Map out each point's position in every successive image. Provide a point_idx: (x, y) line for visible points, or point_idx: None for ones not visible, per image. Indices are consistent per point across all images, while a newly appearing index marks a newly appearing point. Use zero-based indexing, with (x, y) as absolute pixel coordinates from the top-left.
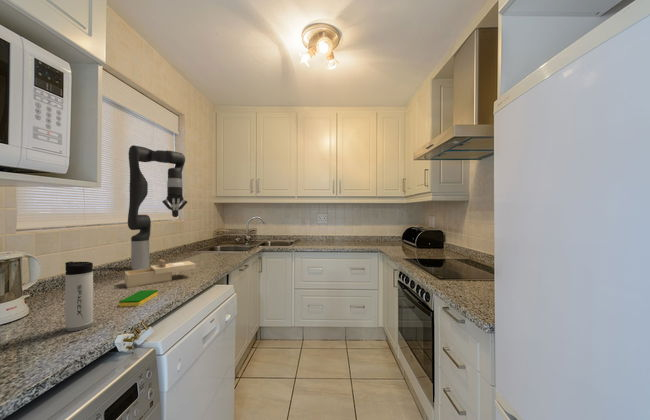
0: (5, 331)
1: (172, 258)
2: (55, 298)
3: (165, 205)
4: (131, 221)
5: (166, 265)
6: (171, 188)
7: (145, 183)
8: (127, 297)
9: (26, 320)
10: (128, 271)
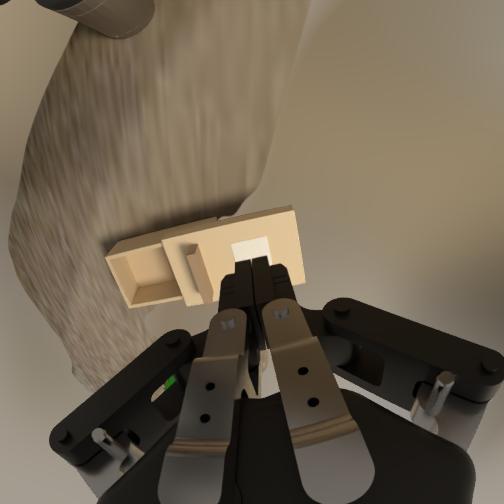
0: (88, 390)
1: None
2: (47, 294)
3: (112, 390)
4: None
5: (214, 262)
6: None
7: None
8: (170, 380)
9: (82, 373)
10: (113, 258)
